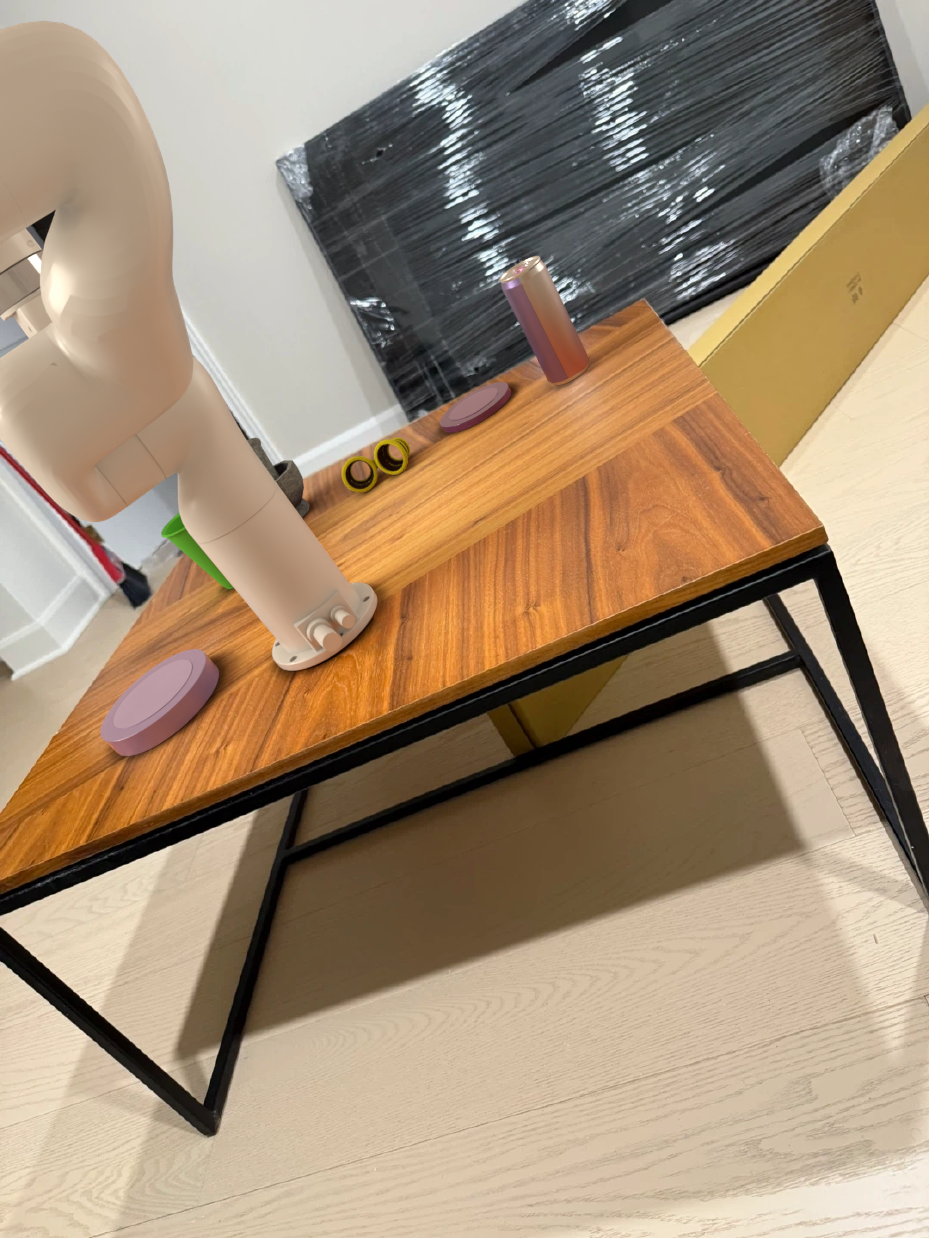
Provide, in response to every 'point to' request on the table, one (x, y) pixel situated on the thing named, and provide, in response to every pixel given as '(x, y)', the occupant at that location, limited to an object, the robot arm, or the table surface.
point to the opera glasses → (377, 464)
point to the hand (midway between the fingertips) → (145, 437)
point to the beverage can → (545, 321)
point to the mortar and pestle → (284, 477)
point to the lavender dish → (160, 702)
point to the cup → (192, 549)
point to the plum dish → (475, 407)
